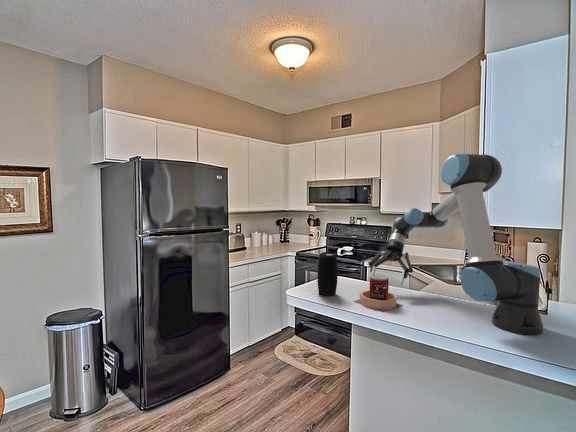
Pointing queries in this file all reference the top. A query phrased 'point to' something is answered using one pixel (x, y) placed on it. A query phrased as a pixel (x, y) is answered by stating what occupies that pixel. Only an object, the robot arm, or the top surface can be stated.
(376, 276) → the canned food
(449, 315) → the top surface
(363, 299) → the bowl
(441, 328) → the top surface
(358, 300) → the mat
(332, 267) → the portable speaker
